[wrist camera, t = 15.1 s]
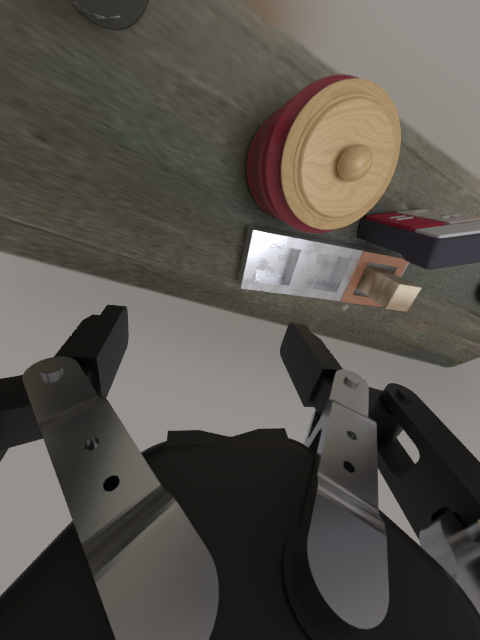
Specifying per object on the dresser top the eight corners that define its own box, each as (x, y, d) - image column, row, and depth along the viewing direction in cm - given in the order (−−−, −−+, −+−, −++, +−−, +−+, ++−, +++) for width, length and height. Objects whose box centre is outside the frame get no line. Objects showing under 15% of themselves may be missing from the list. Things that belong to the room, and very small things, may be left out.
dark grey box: (421, 206, 39) (529, 221, 26) (413, 233, 41) (508, 258, 29) (360, 213, 38) (441, 233, 25) (355, 240, 40) (427, 270, 28)
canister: (232, 200, 34) (259, 220, 19) (264, 87, 28) (340, -11, 13) (307, 229, 38) (377, 263, 23) (349, 134, 32) (481, 98, 17)
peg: (358, 262, 41) (399, 284, 33) (377, 265, 42) (421, 287, 34) (349, 282, 43) (385, 308, 35) (366, 285, 44) (406, 311, 36)
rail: (248, 224, 36) (253, 230, 33) (394, 253, 43) (412, 260, 39) (237, 279, 41) (240, 289, 37) (370, 297, 47) (385, 307, 44)
